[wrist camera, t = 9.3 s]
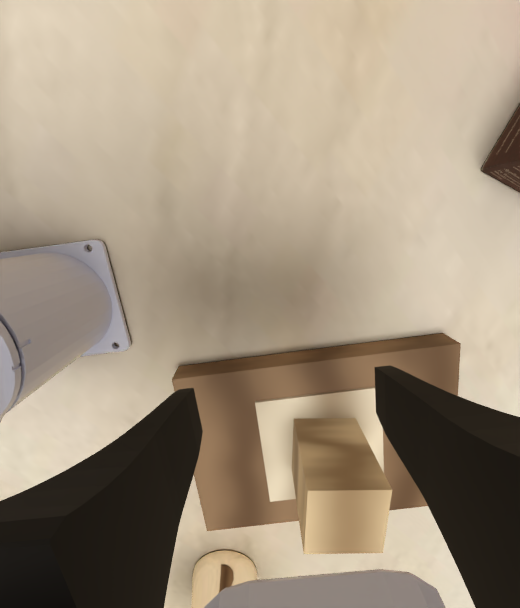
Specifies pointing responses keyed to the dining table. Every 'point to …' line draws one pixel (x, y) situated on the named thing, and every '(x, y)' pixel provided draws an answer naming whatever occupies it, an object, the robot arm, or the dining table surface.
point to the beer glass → (219, 575)
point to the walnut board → (292, 405)
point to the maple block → (338, 487)
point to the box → (506, 155)
